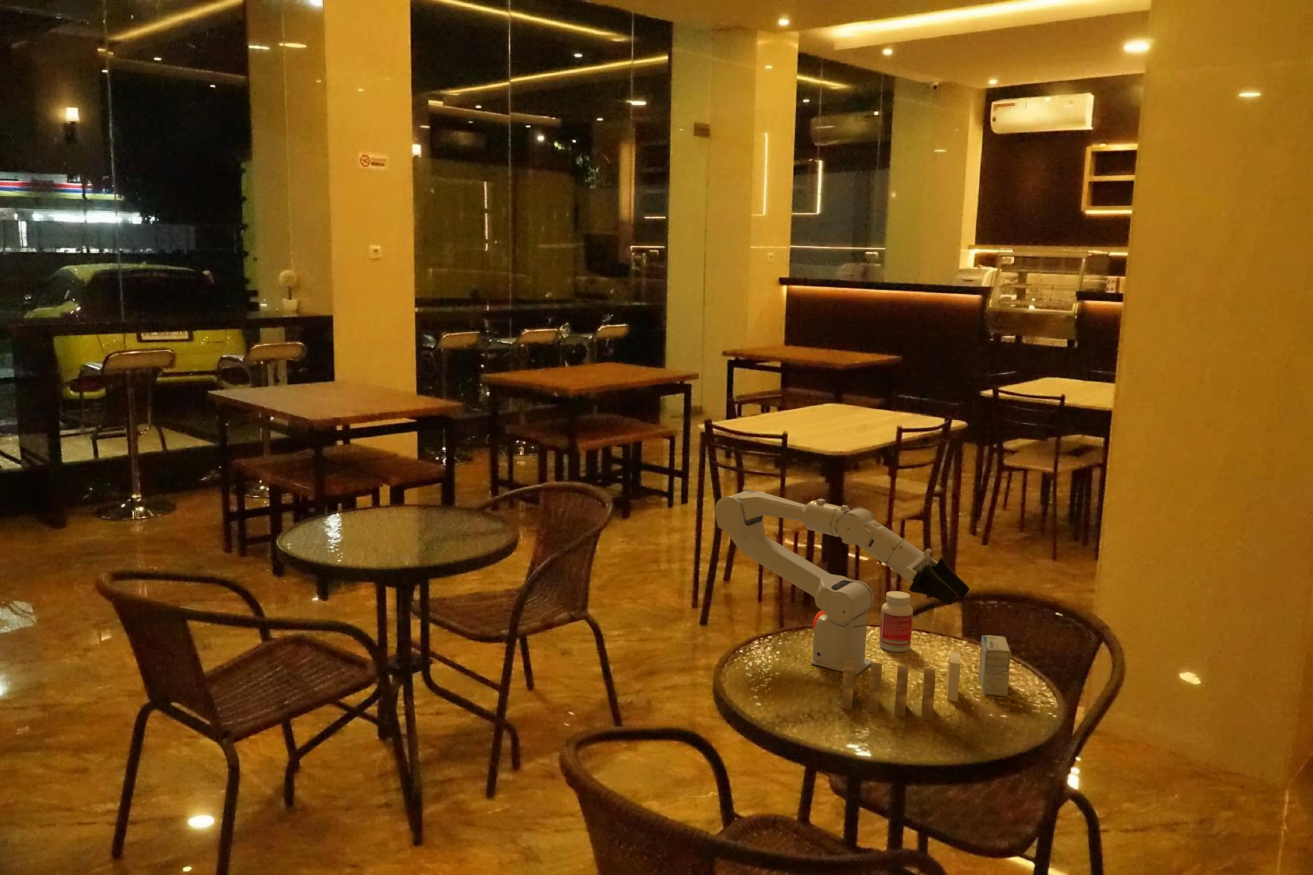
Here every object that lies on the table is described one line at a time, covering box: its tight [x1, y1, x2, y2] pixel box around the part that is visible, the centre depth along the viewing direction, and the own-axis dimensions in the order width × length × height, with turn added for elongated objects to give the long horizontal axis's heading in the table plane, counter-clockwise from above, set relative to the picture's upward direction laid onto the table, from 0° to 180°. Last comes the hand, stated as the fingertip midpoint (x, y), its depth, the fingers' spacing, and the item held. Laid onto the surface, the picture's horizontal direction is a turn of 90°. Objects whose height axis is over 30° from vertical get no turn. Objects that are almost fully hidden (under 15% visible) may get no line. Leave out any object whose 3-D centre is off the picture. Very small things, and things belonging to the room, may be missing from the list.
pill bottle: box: [878, 590, 914, 653], centre depth 208 cm, size 6×6×11 cm
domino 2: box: [867, 661, 883, 713], centre depth 180 cm, size 2×5×7 cm, turn 166°
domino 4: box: [921, 668, 936, 721], centre depth 178 cm, size 2×5×7 cm, turn 165°
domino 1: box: [840, 659, 856, 710], centre depth 181 cm, size 2×5×7 cm, turn 166°
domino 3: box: [894, 665, 909, 717], centre depth 179 cm, size 2×5×7 cm, turn 165°
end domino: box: [946, 652, 962, 702], centre depth 186 cm, size 2×5×7 cm, turn 165°
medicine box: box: [978, 634, 1012, 697], centre depth 189 cm, size 8×4×9 cm, turn 168°
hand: (960, 596), depth 184 cm, fingers open, 7 cm apart
